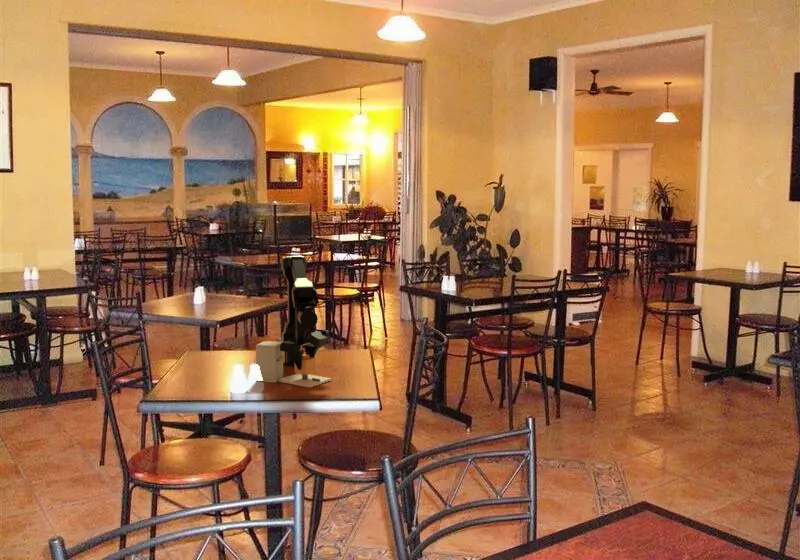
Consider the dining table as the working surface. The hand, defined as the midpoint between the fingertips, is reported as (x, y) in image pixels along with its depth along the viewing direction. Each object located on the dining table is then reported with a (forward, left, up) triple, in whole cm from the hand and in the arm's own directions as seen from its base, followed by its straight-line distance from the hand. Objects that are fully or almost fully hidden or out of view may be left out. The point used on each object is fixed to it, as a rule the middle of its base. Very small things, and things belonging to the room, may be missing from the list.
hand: (304, 368), depth 278 cm
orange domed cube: (0, 0, -2) cm, 2 cm away
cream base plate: (0, 0, -4) cm, 4 cm away
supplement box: (-11, -5, -5) cm, 13 cm away
